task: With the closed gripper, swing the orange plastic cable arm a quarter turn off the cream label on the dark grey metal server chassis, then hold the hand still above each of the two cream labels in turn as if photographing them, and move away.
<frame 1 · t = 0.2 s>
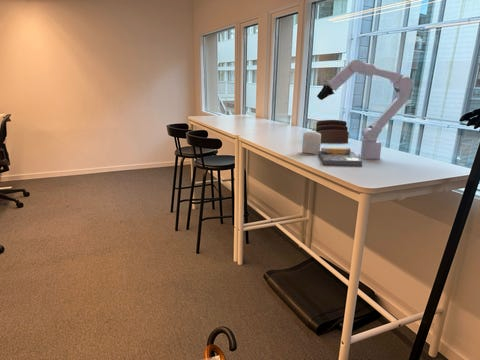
hand: (318, 98, 174), 31 cm above the table, tool tilted 45°, fingers open, 7 cm apart
letter holder: (331, 142, 225), on the table
cable arm: (335, 150, 178), point 4 cm above the table, hinge at 0.0°
photo printer: (310, 153, 190), on the table
server chassis: (338, 160, 173), on the table
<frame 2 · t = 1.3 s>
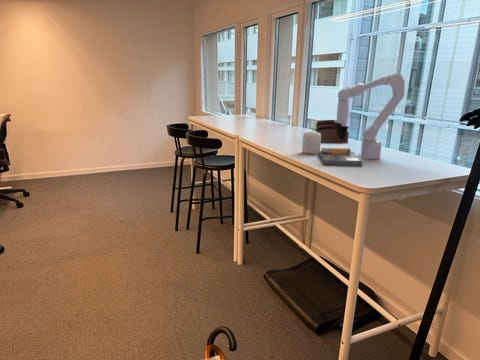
hand: (340, 137, 183), 9 cm above the table, tool pointing down, fingers open, 7 cm apart
nothing on the table moved.
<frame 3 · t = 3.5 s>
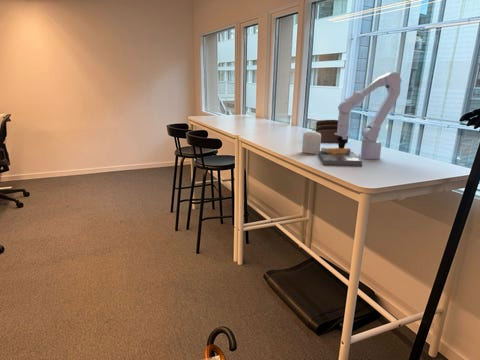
hand: (341, 150, 180), 3 cm above the table, tool pointing down, fingers closed, pressing on cable arm
cable arm: (335, 150, 178), point 4 cm above the table, hinge at 0.2°, touching gripper
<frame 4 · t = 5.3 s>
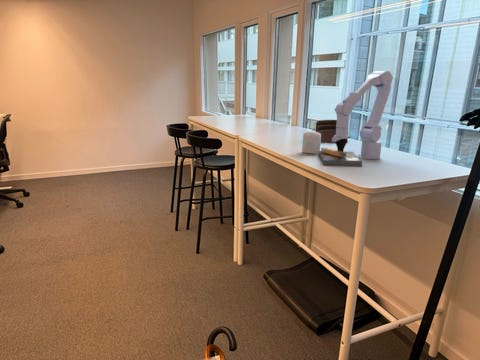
hand: (340, 153, 173), 3 cm above the table, tool pointing down, fingers closed, pressing on cable arm
cable arm: (332, 152, 174), point 4 cm above the table, hinge at 51.6°, touching gripper
everything else where it was.
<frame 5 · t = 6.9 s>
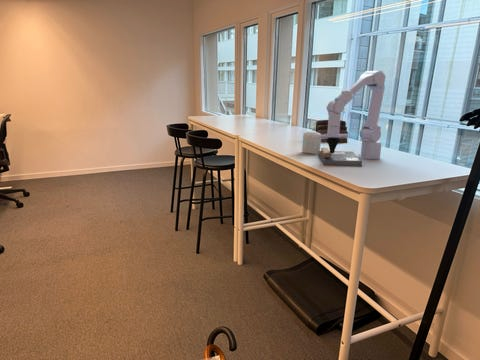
hand: (331, 152, 170), 4 cm above the table, tool pointing down, fingers closed
cable arm: (326, 152, 174), point 4 cm above the table, hinge at 90.5°, touching gripper
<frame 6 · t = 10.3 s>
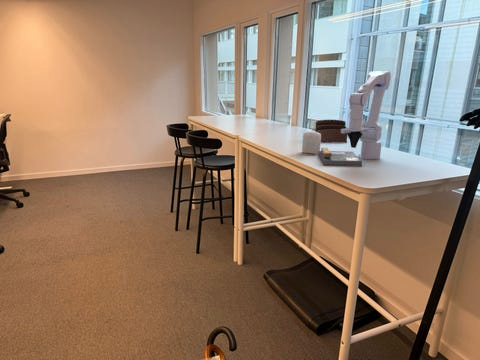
hand: (353, 147, 163), 8 cm above the table, tool pointing down, fingers closed
cable arm: (325, 152, 174), point 4 cm above the table, hinge at 90.6°
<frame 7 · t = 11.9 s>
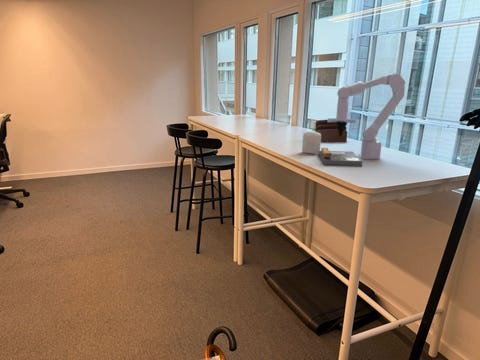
hand: (340, 135, 184), 10 cm above the table, tool pointing down, fingers closed
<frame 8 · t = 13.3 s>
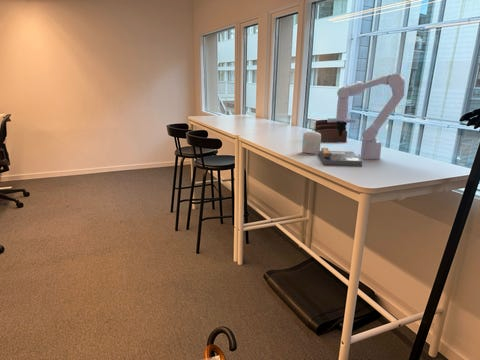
hand: (340, 135, 184), 10 cm above the table, tool pointing down, fingers closed
at the end: cable arm at +91° (first picture: +0°); photo printer moved 0.3 cm from its start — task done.
